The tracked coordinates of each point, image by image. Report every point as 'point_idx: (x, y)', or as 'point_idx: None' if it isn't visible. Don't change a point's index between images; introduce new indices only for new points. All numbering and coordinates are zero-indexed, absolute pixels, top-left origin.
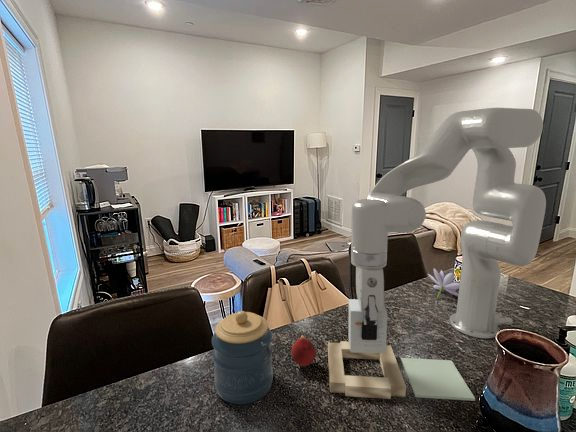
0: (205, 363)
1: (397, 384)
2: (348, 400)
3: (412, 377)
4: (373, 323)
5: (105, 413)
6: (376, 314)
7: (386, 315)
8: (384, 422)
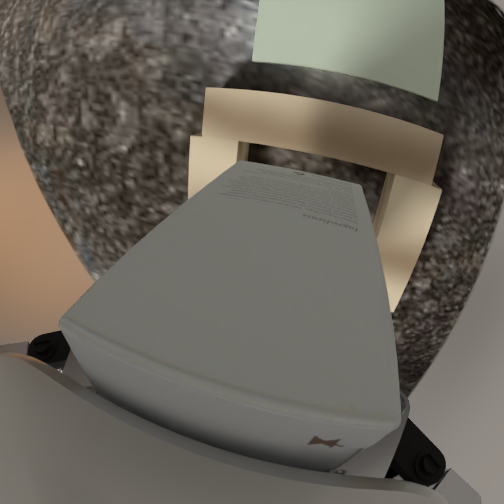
0: None
1: (430, 158)
2: (404, 289)
3: (361, 64)
4: (419, 440)
5: None
6: (384, 471)
7: (397, 382)
8: (483, 233)
